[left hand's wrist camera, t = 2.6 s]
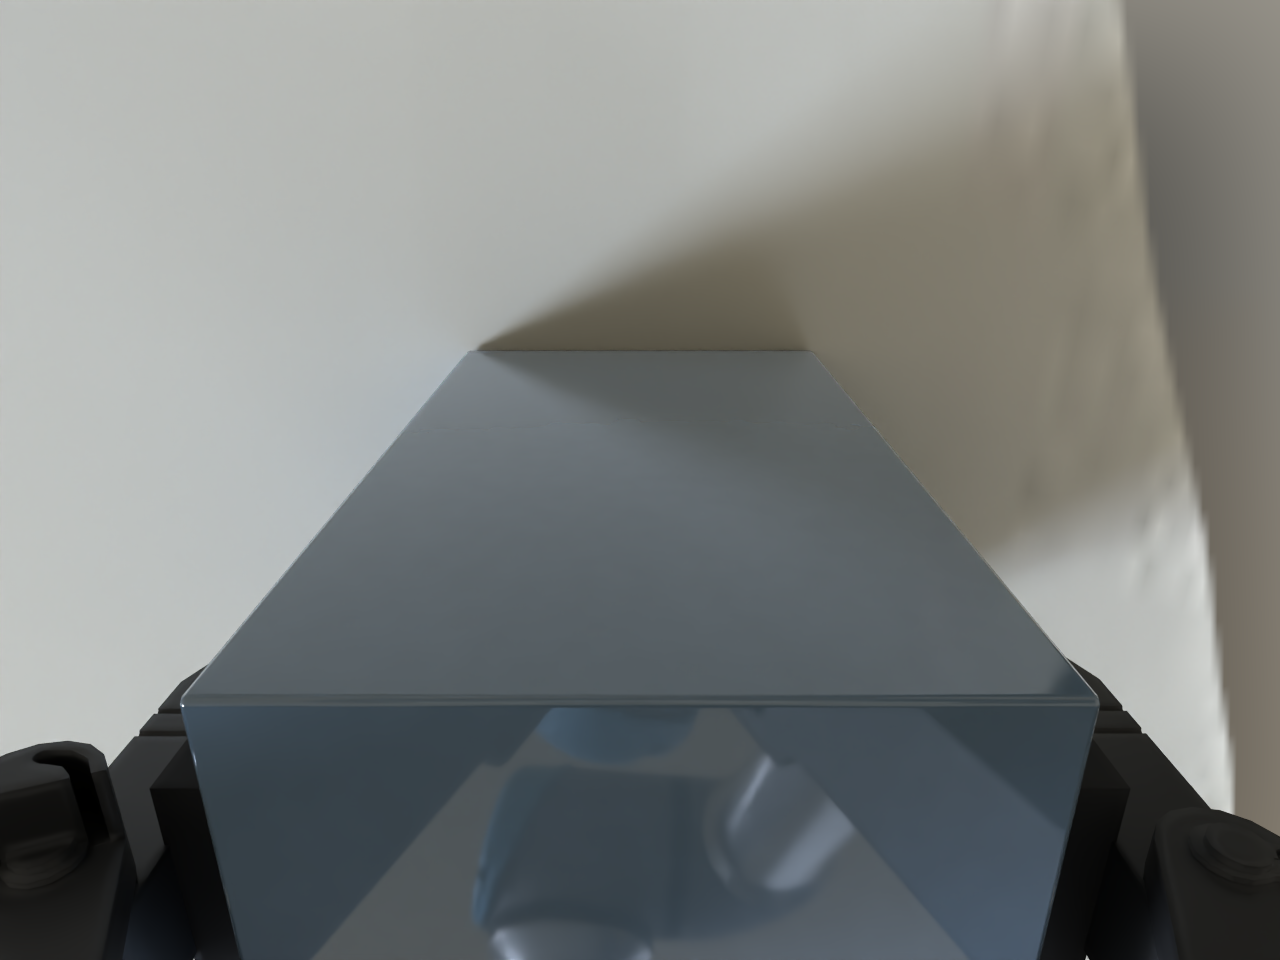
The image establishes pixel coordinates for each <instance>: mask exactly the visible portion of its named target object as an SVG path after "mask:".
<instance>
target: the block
mask: <svg viewBox="0 0 1280 960" xmlns="http://www.w3.org/2000/svg"><path fill="white" fill-rule="evenodd" d="M1099 708H1100V703H1099V698H1098V696H1097V694H1096V693H1095V692H1094V691H1093V690H1092V688H1091V687H1090V686H1089V685H1088V684H1087V682H1086V681H1085V680H1084V679H1083V678H1082V676H1081V675H1080V674H1079V673H1078V672H1077V670H1076V669H1075V668H1074V667H1073V666H1072V664H1071V663H1070V662H1069V661H1068V659H1067V658H1066V657H1065V656H1064V655H1063V653H1062V652H1061V651H1060V650H1059V649H1058V647H1057V646H1056V645H1055V644H1054V643H1053V641H1052V640H1051V639H1050V638H1049V637H1048V635H1047V634H1046V633H1045V632H1044V631H1043V629H1042V628H1041V627H1040V626H1039V625H1038V623H1037V622H1036V621H1035V620H1034V618H1033V617H1032V616H1031V615H1030V614H1029V612H1028V611H1027V610H1026V609H1025V608H1024V606H1023V605H1022V604H1021V603H1020V602H1019V600H1018V599H1017V598H1016V597H1015V596H1014V594H1013V593H1012V592H1011V591H1010V590H1009V588H1008V587H1007V586H1006V585H1005V584H1004V582H1003V581H1002V580H1001V579H1000V577H999V576H998V575H997V574H996V573H995V571H994V570H993V569H992V568H991V567H990V565H989V564H988V563H987V562H986V561H985V559H984V558H983V557H982V556H981V555H980V553H979V552H978V551H977V550H976V549H975V547H974V546H973V545H972V544H971V543H970V541H969V540H968V539H967V538H966V536H965V535H964V534H963V533H962V532H961V530H960V529H959V528H958V527H957V526H956V524H955V523H954V522H953V521H952V520H951V518H950V517H949V516H948V515H947V514H946V512H945V511H944V510H943V509H942V508H941V506H940V505H939V504H938V503H937V502H936V500H935V499H934V498H933V497H932V495H931V494H930V493H929V492H928V491H927V489H926V488H925V487H924V486H923V485H922V483H921V482H920V481H919V480H918V479H917V477H916V476H915V475H914V474H913V473H912V471H911V470H910V469H909V468H908V467H907V465H906V464H905V463H904V462H903V461H902V459H901V458H900V457H899V456H898V454H897V453H896V452H895V451H894V450H893V448H892V447H891V446H890V445H889V444H888V442H887V441H886V440H885V439H884V438H883V436H882V435H881V434H880V433H879V432H878V430H877V429H876V428H875V427H874V426H873V424H872V423H871V422H870V421H869V420H868V418H867V417H866V416H865V415H864V413H863V412H862V411H861V410H860V409H859V407H858V406H857V405H856V404H855V403H854V401H853V400H852V399H851V398H850V397H849V395H848V394H847V393H846V392H845V391H844V389H843V388H842V387H841V386H840V385H839V383H838V382H837V381H836V380H835V379H834V377H833V376H832V375H831V374H830V372H829V371H828V370H827V369H826V368H825V366H824V365H823V364H822V363H821V362H820V360H819V359H818V358H817V357H816V356H815V354H814V353H813V352H811V351H468V352H467V353H466V354H465V356H464V357H463V358H462V359H461V360H460V362H459V363H458V364H457V365H456V366H455V368H454V369H453V370H452V371H451V372H450V374H449V375H448V376H447V377H446V378H445V380H444V381H443V382H442V383H441V384H440V386H439V387H438V388H437V389H436V391H435V392H434V393H433V394H432V395H431V397H430V398H429V399H428V400H427V401H426V403H425V404H424V405H423V406H422V407H421V409H420V410H419V411H418V412H417V413H416V415H415V416H414V417H413V418H412V419H411V421H410V422H409V423H408V424H407V425H406V427H405V428H404V429H403V430H402V432H401V433H400V434H399V435H398V436H397V438H396V439H395V440H394V441H393V442H392V444H391V445H390V446H389V447H388V448H387V450H386V451H385V452H384V453H383V454H382V456H381V457H380V458H379V459H378V460H377V462H376V463H375V464H374V465H373V466H372V468H371V469H370V470H369V471H368V473H367V474H366V475H365V476H364V477H363V479H362V480H361V481H360V482H359V483H358V485H357V486H356V487H355V488H354V489H353V491H352V492H351V493H350V494H349V495H348V497H347V498H346V499H345V500H344V501H343V503H342V504H341V505H340V506H339V507H338V509H337V510H336V511H335V512H334V513H333V515H332V516H331V517H330V518H329V520H328V521H327V522H326V523H325V524H324V526H323V527H322V528H321V529H320V530H319V532H318V533H317V534H316V535H315V536H314V538H313V539H312V540H311V541H310V542H309V544H308V545H307V546H306V547H305V548H304V550H303V551H302V552H301V553H300V554H299V556H298V557H297V558H296V559H295V561H294V562H293V563H292V564H291V565H290V567H289V568H288V569H287V570H286V571H285V573H284V574H283V575H282V576H281V577H280V579H279V580H278V581H277V582H276V583H275V585H274V586H273V587H272V588H271V589H270V591H269V592H268V593H267V594H266V595H265V597H264V598H263V599H262V600H261V602H260V603H259V604H258V605H257V606H256V608H255V609H254V610H253V611H252V612H251V614H250V615H249V616H248V617H247V618H246V620H245V621H244V622H243V623H242V624H241V626H240V627H239V628H238V629H237V630H236V632H235V633H234V634H233V635H232V636H231V638H230V639H229V640H228V641H227V642H226V644H225V645H224V646H223V647H222V649H221V650H220V651H219V652H218V653H217V655H216V656H215V657H214V658H213V659H212V661H211V662H210V663H209V664H208V665H207V667H206V668H205V669H204V670H203V671H202V673H201V674H200V675H199V676H198V677H197V679H196V680H195V681H194V682H193V683H192V685H191V686H190V687H189V688H188V690H187V691H186V692H185V693H184V694H183V696H182V698H181V702H180V709H181V713H182V717H183V721H184V725H185V730H186V734H187V738H188V742H189V746H190V751H191V755H192V759H193V763H194V767H195V772H196V776H197V780H198V784H199V788H200V793H201V797H202V801H203V805H204V809H205V814H206V818H207V822H208V826H209V830H210V835H211V839H212V843H213V847H214V851H215V856H216V860H217V864H218V868H219V872H220V877H221V881H222V885H223V889H224V893H225V898H226V902H227V906H228V910H229V914H230V919H231V923H232V927H233V931H234V935H235V940H236V944H237V948H238V952H239V956H240V960H1040V956H1041V952H1042V948H1043V943H1044V939H1045V935H1046V931H1047V927H1048V922H1049V918H1050V914H1051V910H1052V906H1053V901H1054V897H1055V893H1056V889H1057V885H1058V880H1059V876H1060V872H1061V868H1062V864H1063V859H1064V855H1065V851H1066V847H1067V843H1068V838H1069V834H1070V830H1071V826H1072V822H1073V817H1074V813H1075V809H1076V805H1077V801H1078V796H1079V792H1080V788H1081V784H1082V780H1083V775H1084V771H1085V767H1086V763H1087V759H1088V754H1089V750H1090V746H1091V742H1092V738H1093V733H1094V729H1095V725H1096V721H1097V717H1098V712H1099Z"/></svg>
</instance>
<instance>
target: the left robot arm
mask: <svg viewBox="0 0 1280 960" xmlns="http://www.w3.org/2000/svg"><path fill="white" fill-rule="evenodd" d="M1068 661H1069V662H1070V663H1071V664H1072V666H1073V667H1074V668H1075V669H1076V670H1077V672H1078V673H1079V674H1080V675H1081V676H1082V678H1083V679H1084V680H1085V681H1086V682H1087V684H1088V685H1089V686H1090V687H1091V688H1092V690H1093V691H1094V692H1095V693H1096V694H1097V696H1098V698H1099V703H1100V708H1099V712H1098V717H1097V721H1096V725H1095V729H1094V733H1093V738H1092V742H1091V746H1090V750H1089V754H1088V759H1087V763H1086V767H1085V771H1084V775H1083V780H1082V784H1081V788H1080V792H1079V796H1078V801H1077V805H1076V809H1075V813H1074V817H1073V822H1072V826H1071V830H1070V834H1069V838H1068V843H1067V847H1066V851H1065V855H1064V859H1063V864H1062V868H1061V872H1060V876H1059V880H1058V885H1057V889H1056V893H1055V897H1054V901H1053V906H1052V910H1051V914H1050V918H1049V922H1048V927H1047V931H1046V935H1045V939H1044V943H1043V948H1042V952H1041V956H1040V960H1085V959H1086V955H1087V956H1088V958H1089V960H1280V836H1278V835H1276V834H1274V833H1272V832H1270V831H1269V830H1267V829H1265V828H1263V827H1261V826H1260V825H1258V824H1256V823H1254V822H1252V821H1250V820H1247V819H1244V818H1241V817H1238V816H1235V815H1232V814H1230V813H1227V812H1224V811H1221V810H1213V809H1210V807H1209V806H1208V805H1207V804H1206V803H1205V802H1204V800H1203V799H1202V798H1201V797H1200V796H1199V795H1198V793H1197V792H1196V791H1195V790H1194V789H1193V788H1192V786H1191V785H1190V784H1189V783H1188V782H1187V781H1186V779H1185V778H1184V777H1183V776H1182V775H1181V774H1180V772H1179V771H1178V770H1177V769H1176V768H1175V767H1174V765H1173V764H1172V763H1171V762H1170V761H1169V760H1168V758H1167V757H1166V756H1165V755H1164V754H1163V753H1162V751H1161V750H1160V749H1159V748H1158V747H1157V746H1156V744H1155V743H1154V742H1153V741H1152V740H1151V739H1150V737H1149V736H1148V735H1147V734H1142V732H1141V727H1140V726H1139V725H1138V724H1137V722H1136V721H1135V720H1134V719H1133V718H1132V717H1131V715H1130V714H1129V713H1128V712H1127V711H1123V710H1122V705H1121V704H1120V703H1119V701H1118V700H1117V699H1116V698H1115V697H1114V696H1113V694H1112V693H1111V692H1110V691H1109V690H1108V689H1107V687H1106V686H1105V685H1104V684H1103V683H1102V682H1101V680H1100V679H1098V678H1097V677H1095V676H1094V675H1092V674H1091V673H1089V672H1088V671H1086V670H1084V669H1083V668H1081V667H1080V666H1078V665H1077V664H1075V663H1074V662H1072V661H1071V660H1069V659H1068ZM206 667H207V665H206V666H205V667H203V668H202V669H200V670H199V671H197V672H196V673H194V674H193V675H191V676H190V677H188V678H186V679H185V680H183V681H182V682H181V683H180V684H179V685H178V686H177V687H176V689H175V690H174V691H173V692H172V693H171V694H170V696H169V697H168V698H167V699H166V700H165V701H164V703H163V704H162V705H161V706H160V707H159V708H158V710H159V711H158V714H153V716H152V717H151V718H150V719H149V720H148V721H147V723H146V724H145V725H144V726H143V727H142V728H141V730H140V734H139V736H135V737H134V738H133V739H132V740H131V741H130V742H129V744H128V745H127V746H126V747H125V748H124V750H123V751H122V752H121V753H120V754H119V755H118V757H117V758H116V759H115V760H114V761H113V762H112V764H111V765H110V766H109V767H108V766H107V763H106V759H105V756H104V754H103V753H102V752H100V751H99V750H98V749H96V748H95V747H94V746H92V745H91V744H86V743H79V742H72V741H62V742H53V743H44V744H37V745H34V746H31V747H28V748H24V749H21V750H18V751H14V752H11V753H8V754H5V755H3V756H1V757H0V960H193V959H195V960H240V956H239V952H238V948H237V944H236V940H235V935H234V931H233V927H232V923H231V919H230V914H229V910H228V906H227V902H226V898H225V893H224V889H223V885H222V881H221V877H220V872H219V868H218V864H217V860H216V856H215V851H214V847H213V843H212V839H211V835H210V830H209V826H208V822H207V818H206V814H205V809H204V805H203V801H202V797H201V793H200V788H199V784H198V780H197V776H196V772H195V767H194V763H193V759H192V755H191V751H190V746H189V742H188V738H187V734H186V730H185V725H184V721H183V717H182V713H181V709H180V702H181V698H182V696H183V694H184V693H185V692H186V691H187V690H188V688H189V687H190V686H191V685H192V683H193V682H194V681H195V680H196V679H197V677H198V676H199V675H200V674H201V673H202V671H203V670H204V669H205V668H206Z"/></svg>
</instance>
